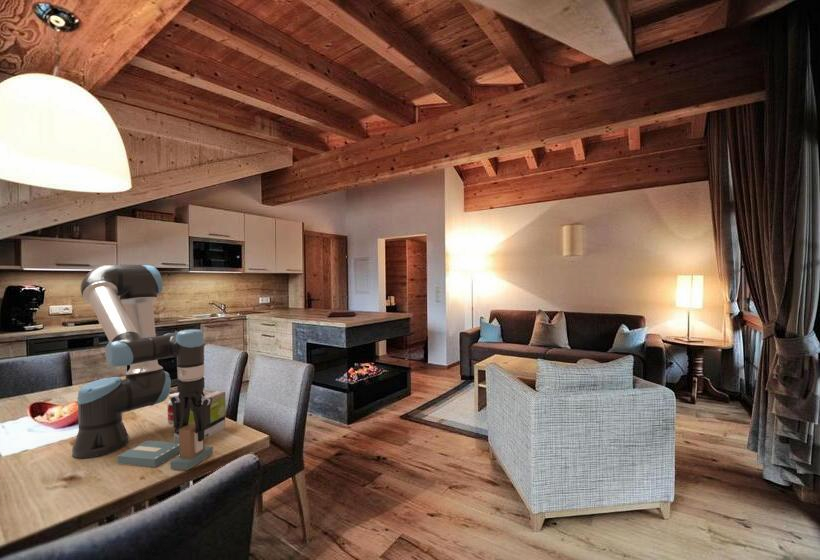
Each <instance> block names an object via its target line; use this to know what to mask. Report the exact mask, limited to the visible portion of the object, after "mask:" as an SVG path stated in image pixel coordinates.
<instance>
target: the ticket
mask: <svg viewBox="0 0 820 560" xmlns="http://www.w3.org/2000/svg"><path fill="white" fill-rule="evenodd" d="M178 454H180V448H179V443H177V442H168V441H158V440H149V439H148V440H145V441H143V442H142V443H140V444H138V445H136V446H134V447H132V448H130V449H128V450H126V451H125V452H122V453H120V454H118V455H117V459H116V460H117V461H116V462H117V464H119V465H120V464H121V465H126V466H127V465H129V466H138V467H145V468H146V467H147V468H157V467H158V466H160V465H162V464H163V463H165V462H166V461H168V460H171V458H173V457H175V456H176V455H178Z"/></svg>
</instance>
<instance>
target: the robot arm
mask: <svg viewBox="0 0 820 560" xmlns="http://www.w3.org/2000/svg"><path fill="white" fill-rule="evenodd" d="M163 285H164V284H163V278H162V275H161V273H160V271H159V270H158V268H156V266H153V265H148V264H145V265H144V264H104V265H100V266H96V267H95V268H93V269H92V270H90V271H89V272H88V273H86V275H85V276H84V277H83V279H82V280H81V283H80V293H81V296H82V298H83V300H84V301H85V302H86V303H89V304H90V305H91V307H92V309H93V311H94V314H95V316H96V317H97V319H98V322H99V324H100V326H101V328H102V330H103V332H104V334H105V336H106V338H107V340H108V343H107V344H106V346H105V350H104V351H105V352H104V353H105V355H104V356H105V360H106V362H107V365H108V366H110V367H121V366H122V367H123V366H125V367H126V366H129V369H128V370H127V371H126V372H125V379H122V378H121V377H120V376H111V377H103V378H99V379H97V380H94V381H91V382H88V383H86V384H84V385H83V386H81V387H80V388H79V390H78V392H77V393H78V395H77V402H76V403H77V409H78V410H77V411H78V417H77V418H78V431H77V434H76V436H75V440H74V443H73V445H72V448H71V449H72V452H71V453H72V457H74V458H76V459H87V458H89V459H90V458H95V457H101V456H104V455H108V454H111V453H113V452H117V451H119V450H121V449H123V448H124V447H126V446H127V445H129V442H130V441H129V440H130V435H129V433H128V432H127V431H128V430H127V429H126V427H125V425H124V423H123V413H127V412H131V411H134V410H139V409H141V408H142V409H144V408H146V407H148V406H149V407H152V406H155V405H157V404H160V403H163V402H164V401H166V399H167V398H169V395H170V392H171V386H172V382H171V377H170V374H169V372H168V371H165V370H164V367H163V366H161V365H160V364H159V361H158V360H164V359H169V358H176V370H177V371H176V372H177V373H176V374H177V380H178V381H177V383H176V384H177V385H176V386H177V393H179V395H178V396H176V397H173V398H171V402H172V405H173V422H174V423H173V429H174V428H178V429H181V428H183V427H185V426H186V425H188V421H189V415H190V409H191V411H192V412H193V415H194V420H195V426H196V431H195V432H194V446H195V453H197V452H199V451H200V450H202V449H203V440H204V430H206V429H207V428H209V427H210V405H211V402H212V398H206V397H205V395H204V393H203V391H204V389H205V386H206V385H205V377H204V376H205V337H204V332H203V331H202V329H193V328H192V329H184V330H179V331H178V332H168V333H165V334H163V335H157V336H156V326H155V323H156V322H155V313H154V312H155V311H154V302H155V301H156V300H157V299H158V295H159V294H161V293H162V291H163ZM123 305H124V306H123Z"/></svg>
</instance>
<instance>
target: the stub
mask: <svg viewBox="0 0 820 560" xmlns="http://www.w3.org/2000/svg"><path fill="white" fill-rule="evenodd" d="M195 431H196V426H195V422H192V423H190V424H188V425H186V426H185V427H183V428H181V429H179V448H180V453H179V455H178V456H176V457H175V458H173V459H172V460H170V463H169V464H170V469H172V470H178V471H179V470H181V471H189V470H190V469H192V468H193V467H195V466H196V465H198V464H199V463H200V462H201V461H203V460H205V459H206V458H208V457H209V456H211V455H213V454H214V448H213V447H214V446H213V445H206V443H205V440H206V439H205V438H204V440H203V449H202V450H200V451H199V452H197V453H195V446H194V432H195Z"/></svg>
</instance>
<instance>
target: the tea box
mask: <svg viewBox="0 0 820 560" xmlns="http://www.w3.org/2000/svg"><path fill="white" fill-rule="evenodd" d="M203 393H204V395H205V397H206V398H212V402H211V405H210V427H209V428H207V429H206V430H204V438H205V440H206V439H208V438H210V437H211V436H213V435H215V434H217V433H219V432H220V431H222V430H224V429H225V428H226V391H222V390H221V391H218V390H217V391H216V390H208V389H207V390H203ZM192 422H195V420H194V415H193V412H192V411H191V409H190V415H189V421H188V424H190V423H192ZM173 443H179V429H178V428H174V427H173Z"/></svg>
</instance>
